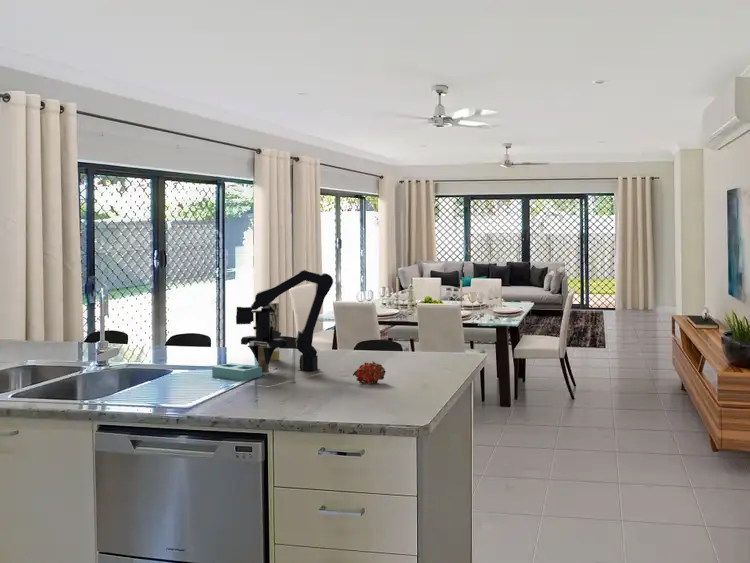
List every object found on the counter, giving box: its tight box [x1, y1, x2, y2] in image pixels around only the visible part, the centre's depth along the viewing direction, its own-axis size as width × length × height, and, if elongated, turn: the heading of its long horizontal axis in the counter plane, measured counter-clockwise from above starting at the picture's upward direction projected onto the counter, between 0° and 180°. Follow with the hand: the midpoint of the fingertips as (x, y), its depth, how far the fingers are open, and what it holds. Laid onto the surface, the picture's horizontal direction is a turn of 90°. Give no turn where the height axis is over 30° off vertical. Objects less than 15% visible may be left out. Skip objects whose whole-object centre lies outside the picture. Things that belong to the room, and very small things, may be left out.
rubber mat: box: [262, 368, 282, 376], centre depth 292 cm, size 10×10×1 cm
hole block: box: [211, 362, 263, 381], centre depth 283 cm, size 16×10×4 cm, turn 57°
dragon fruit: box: [352, 361, 387, 385], centre depth 270 cm, size 8×8×12 cm
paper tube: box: [262, 300, 280, 362], centre depth 321 cm, size 7×7×25 cm
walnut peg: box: [257, 345, 270, 372], centre depth 292 cm, size 4×4×10 cm
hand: (263, 363), depth 292 cm, fingers closed on walnut peg, 4 cm apart
